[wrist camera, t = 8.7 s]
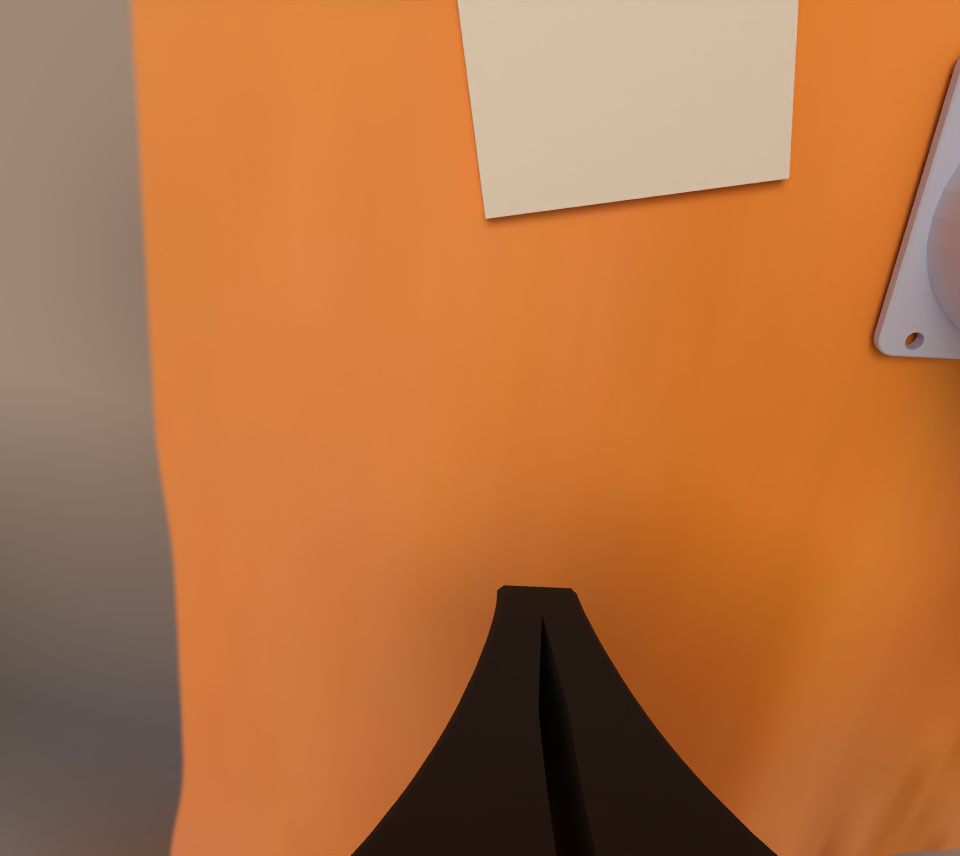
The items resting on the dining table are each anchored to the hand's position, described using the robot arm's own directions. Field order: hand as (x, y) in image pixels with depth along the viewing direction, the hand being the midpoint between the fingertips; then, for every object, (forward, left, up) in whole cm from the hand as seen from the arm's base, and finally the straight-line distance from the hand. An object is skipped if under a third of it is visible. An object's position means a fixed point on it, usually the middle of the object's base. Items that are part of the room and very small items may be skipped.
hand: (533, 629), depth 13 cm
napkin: (-2, -9, -10) cm, 14 cm away
